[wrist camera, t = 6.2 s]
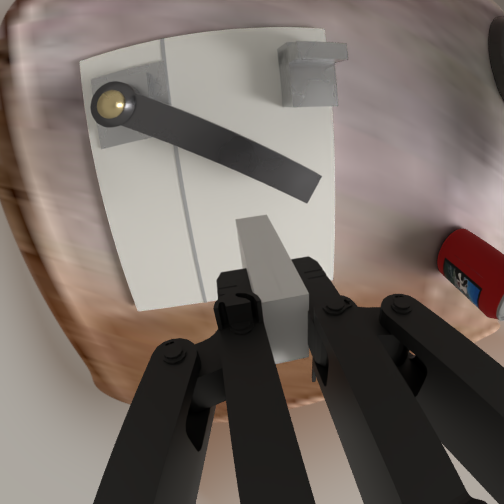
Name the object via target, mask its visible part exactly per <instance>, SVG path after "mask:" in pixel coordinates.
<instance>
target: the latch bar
mask: <svg viewBox="0 0 504 504" xmlns="http://www.w3.org/2000/svg"><path fill="white" fill-rule="evenodd" d="M90 108H91V114H92V116H93V118H94V120H95V121H96V122H97V123H98V124H99V125H101V126H103V127H108V128H112V127H117V126H124V127H127V128H130V129H132V130H135V131H138V132H141V133H143V134H146V135H149V136H151V137H154V138H157V139H159V140H162V141H164V142H167V143H170V144H172V145H175V146H177V147H180V148H182V149H185V150H187V151H190V152H192V153H195V154H197V155H200V156H202V157H204V158H207V159H209V160H212V161H214V162H216V163H219V164H221V165H223V166H226V167H228V168H230V169H233V170H235V171H237V172H240V173H242V174H244V175H246V176H249V177H251V178H253V179H255V180H257V181H260V182H262V183H264V184H266V185H268V186H271V187H273V188H275V189H277V190H279V191H281V192H283V193H286V194H288V195H290V196H292V197H294V198H296V199H298V200H300V201H302V202H304V203H306V204H307V203H308V201H309V200H310V198H311V196H312V194H313V192H314V190H315V189H316V187H317V185H318V183H319V181H320V179H321V178H322V176H321V175H320V174H318V173H316V172H315V171H313V170H311V169H309V168H307V167H306V166H304V165H302V164H300V163H298V162H296V161H294V160H292V159H290V158H288V157H286V156H284V155H282V154H280V153H278V152H276V151H274V150H272V149H270V148H268V147H266V146H264V145H262V144H260V143H258V142H256V141H253V140H251V139H249V138H247V137H245V136H243V135H240V134H238V133H236V132H234V131H232V130H229V129H227V128H225V127H222V126H220V125H218V124H216V123H213V122H211V121H208V120H206V119H204V118H201V117H199V116H196V115H194V114H191V113H189V112H186V111H184V110H181V109H179V108H176V107H174V106H171V105H168V104H166V103H163V102H160V101H158V100H155V99H152V98H149V97H147V96H144V95H141V94H140V93H139V92H138V90H137V89H136V88H135V87H133V86H132V85H129V84H126V83H123V82H118V81H113V82H108V83H106V84H104V85H102V86H101V87H100V88H99V89H98V90H97V91H96V92H95V94H94V95H93V97H92V100H91V106H90Z"/></svg>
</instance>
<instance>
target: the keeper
mask: <svg viewBox="0 0 504 504" xmlns="http://www.w3.org/2000/svg"><path fill="white" fill-rule="evenodd" d="M277 54H278V63H279V72H280V82H281V93H282V104H283V107H320V106H338V98H337V84H336V73H335V63H337V62H341V61H345V60H348V52H347V44H346V43H333V42H316V41H296V42H286V43H285V44H283V45H282V46H281V47H279V48H278V49H277Z"/></svg>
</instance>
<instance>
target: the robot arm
mask: <svg viewBox="0 0 504 504" xmlns="http://www.w3.org/2000/svg"><path fill="white" fill-rule="evenodd" d="M489 53H490V60H491V65H492V70H493V74H494V77H495V80H496V83H497V86H498V89H499V91H500V94H501V96H502V98H503V100H504V16H500V17H497V18H496V19H495V20H494V21H493V22H492V24H491V27H490V31H489ZM235 221H236V228H237V234H238V241H239V248H240V255H241V262H242V268H243V269H237V270H232V271H226V272H221V273H220V275H219V277H218V278H217V280H216V282H217V294H218V300H217V301H216V302H215V304H214V308H213V309H214V313H215V317H216V321H217V325H218V330H217V331H216V333H215V334H214V335H213V336H211V337H210V338H209V339H207V340H205V341H202V342H200V343H197V344H195V345H194V343H192V342H191V341H189V340H187V339H182V338H178V339H171V340H168V341H165V342H163V343H162V344H161V345H159V346H158V347H157V348H156V349H155V351H154V352H153V354H152V356H151V359H150V361H149V363H148V365H147V368H146V370H145V372H144V375H143V377H142V379H141V382H140V384H139V386H138V389H137V391H136V393H135V396H134V398H133V401H132V403H131V405H130V408H129V410H128V413H127V416H126V418H125V420H124V423H123V425H122V428H121V430H120V433H119V435H118V438H117V440H116V443H115V446H114V448H113V451H112V453H111V456H110V459H109V461H108V464H107V467H106V469H105V472H104V475H103V477H102V480H101V483H100V486H99V489H98V491H97V494H96V497H95V500H94V503H93V504H196V499H197V494H198V490H199V485H200V480H201V474H202V470H203V465H204V461H205V455H206V451H207V446H208V441H209V436H210V431H211V427H212V422H213V417H214V413H215V408H216V405H217V404H219V403H221V402H224V401H226V403H227V412H228V420H229V428H230V435H231V442H232V450H233V457H234V464H235V471H236V478H237V484H238V491H239V497H240V504H315V500H314V497H313V493H312V490H311V487H310V484H309V480H308V477H307V473H306V470H305V466H304V463H303V459H302V456H301V452H300V449H299V445H298V442H297V438H296V435H295V432H294V428H293V424H292V421H291V417H290V414H289V410H288V407H287V403H286V400H285V396H284V393H283V389H282V386H281V382H280V379H279V375H278V371H277V368H276V364H278V363H283V362H288V361H292V360H297V359H301V358H306V357H309V348H310V351H311V353H312V356H313V361H312V382H315V381H316V377H317V380H318V383H319V385H320V388H321V390H322V393H323V396H324V398H325V401H326V403H327V406H328V408H329V411H330V414H331V417H332V419H333V422H334V424H335V427H336V430H337V432H338V435H339V438H340V440H341V443H342V446H343V448H344V451H345V454H346V456H347V459H348V462H349V465H350V467H351V470H352V473H353V475H354V478H355V481H356V484H357V486H358V489H359V492H360V494H361V497H362V500H363V502H364V504H487V503H486V502H485V501H482V500H478V499H474V498H472V497H471V496H470V495H469V494H468V492H467V491H466V489H465V487H464V485H463V483H462V481H461V479H460V477H459V475H458V473H457V471H456V469H455V468H454V465H453V464H452V462H451V460H450V458H449V456H448V454H447V453H446V451H445V449H444V447H443V445H444V446H445V447H446V448H447V449H448V450H449V451H450V452H451V453H452V454H453V455H454V457H455V458H456V459H457V460H458V461H460V463H461V464H462V465H463V466H464V467H465V468H466V469H467V470H468V471H469V472H470V473H471V475H472V476H473V477H474V478H475V479H476V480H477V481H478V482H479V483H480V484H481V485H482V486H483V487H484V488H485V489H486V491H487V492H488V493H489V494H490V495H491V496H492V497H493V498H494V499H495V500H496V501H497V502H498V503H499V504H504V367H502V366H501V365H500V364H499V363H498V362H496V361H495V360H494V359H493V358H491V357H490V356H489V355H488V354H486V353H485V352H484V351H483V350H482V349H480V348H479V347H478V346H477V345H475V344H474V343H473V342H472V341H470V340H469V339H468V338H466V337H465V336H464V335H463V334H461V333H460V332H459V331H457V330H456V329H455V328H453V327H452V326H451V325H450V324H448V323H447V322H446V321H444V320H443V319H442V318H440V317H439V316H438V315H436V314H435V313H434V312H432V311H431V310H430V309H428V308H427V307H426V306H424V305H423V304H421V303H420V302H419V301H417V300H416V299H414V298H412V297H411V296H408V295H404V294H393V295H389V296H387V297H386V298H385V299H383V301H382V304H381V307H370V308H366V307H357V305H356V304H355V303H354V302H353V301H352V300H351V299H350V298H348V297H345V296H342V295H340V294H339V293H338V291H337V290H336V288H335V287H334V285H333V284H332V282H331V281H330V279H329V278H328V276H327V275H326V273H325V272H324V270H323V269H322V267H321V266H320V264H319V263H318V261H316V260H314V259H313V258H311V257H309V256H307V257H302V258H296V259H290V257H289V255H288V253H287V251H286V249H285V247H284V245H283V244H282V242H281V240H280V238H279V236H278V234H277V232H276V231H275V229H274V227H273V225H272V223H271V221H270V220H269V218H268V216H267V214H266V215H260V216H253V217H247V218H241V219H235ZM410 350H411V351H412V352H413V353H414V354H415V355H416V356H415V355H413V354H411V353H410V352H409V351H410ZM442 444H443V445H442Z"/></svg>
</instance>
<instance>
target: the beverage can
mask: <svg viewBox="0 0 504 504" xmlns="http://www.w3.org/2000/svg"><path fill="white" fill-rule="evenodd" d="M437 265H438V269H439V271H440V273H441V274H442V275H443V276H445V277H446V278H447V279H448V280H449V281H450V282H451V283H452V284H453V285H454V286H455V287H456V288H458V289H459V290H460V291H461V292H462V293H463V294H464V295H465V296H466V297H467V298H468V299H469V300H470V301H471V302H472V303H473V304H474V305H476V306H477V307H478V308H479V309H480V310H481V311H482V312H483V313H484V314H485V315H486V316H487V317H489V318H494V319H499V320H500V321H504V254H502V253H501V252H500V251H498V250H497V249H495V248H494V247H493V246H491V245H490V244H488V243H487V242H485V241H484V240H482V239H481V238H479V237H478V236H476V235H475V234H473V233H471V232H470V231H468V230H466V229H458V230H456V231H454V232H453V233H451V234H450V235H449V236H448V237H447V239H446V240H445V241H444V243H443V244H442V246H441V249H440V251H439V255H438V260H437Z"/></svg>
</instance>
